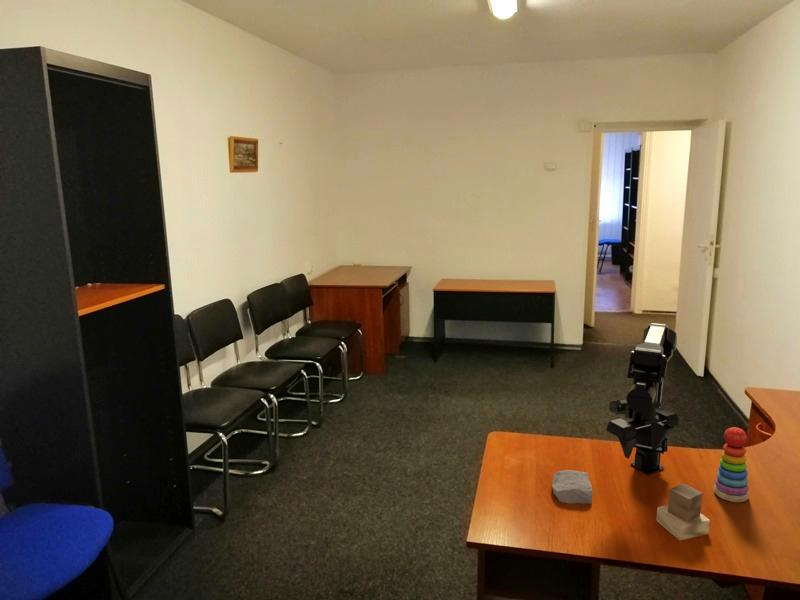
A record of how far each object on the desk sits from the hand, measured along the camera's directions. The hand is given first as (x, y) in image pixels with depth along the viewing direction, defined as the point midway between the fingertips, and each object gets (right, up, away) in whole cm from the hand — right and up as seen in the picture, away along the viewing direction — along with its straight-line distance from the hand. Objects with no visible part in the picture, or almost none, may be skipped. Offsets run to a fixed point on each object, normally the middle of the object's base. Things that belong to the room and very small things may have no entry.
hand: (640, 453), depth 149 cm
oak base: (+6, -15, -9) cm, 19 cm away
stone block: (-16, -12, +7) cm, 21 cm away
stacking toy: (+25, -12, +3) cm, 27 cm away
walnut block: (+6, -11, -10) cm, 17 cm away
